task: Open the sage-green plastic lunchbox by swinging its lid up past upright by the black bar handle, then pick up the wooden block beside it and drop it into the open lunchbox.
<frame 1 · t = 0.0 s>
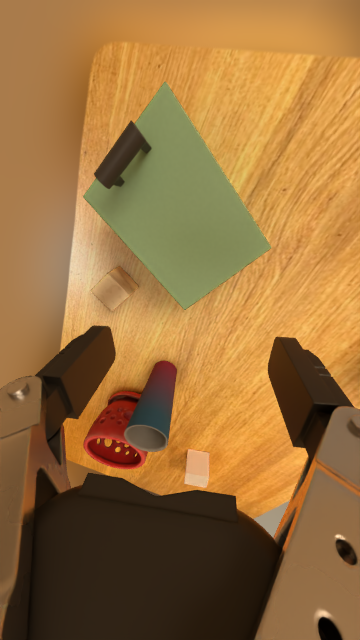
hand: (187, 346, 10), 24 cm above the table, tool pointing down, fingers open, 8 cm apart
flower pot: (133, 403, 50), on the table
cup: (165, 369, 43), on the table
beige cube: (197, 455, 58), on the table
wooden block: (121, 283, 35), on the table
lunchbox lid: (174, 223, 20), point 9 cm above the table, hinge at 0.0°
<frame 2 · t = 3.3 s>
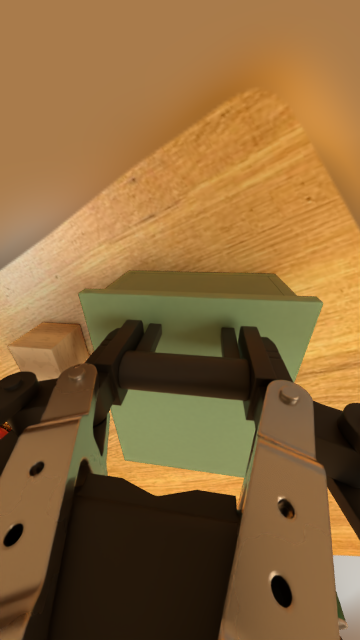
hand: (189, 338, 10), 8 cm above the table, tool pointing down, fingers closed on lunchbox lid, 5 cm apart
lunchbox: (196, 349, 21), on the table
wooden block: (66, 339, 23), on the table
lunchbox lid: (187, 431, 13), point 9 cm above the table, hinge at 0.0°, touching gripper
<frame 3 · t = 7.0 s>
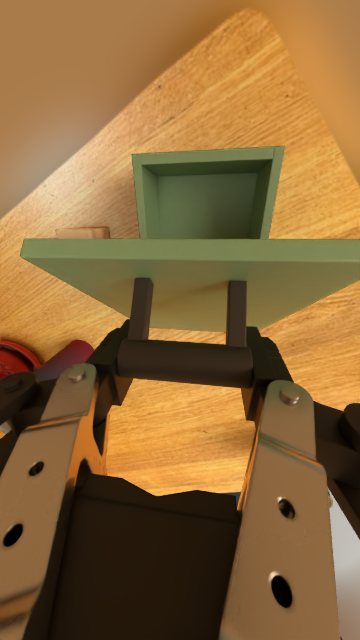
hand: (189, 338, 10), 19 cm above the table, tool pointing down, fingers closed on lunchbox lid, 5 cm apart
lunchbox: (203, 245, 26), on the table
flower pot: (20, 360, 42), on the table
cup: (82, 350, 38), on the table
wooden block: (96, 244, 28), on the table
lunchbox lid: (193, 337, 15), point 15 cm above the table, hinge at 51.5°, touching gripper
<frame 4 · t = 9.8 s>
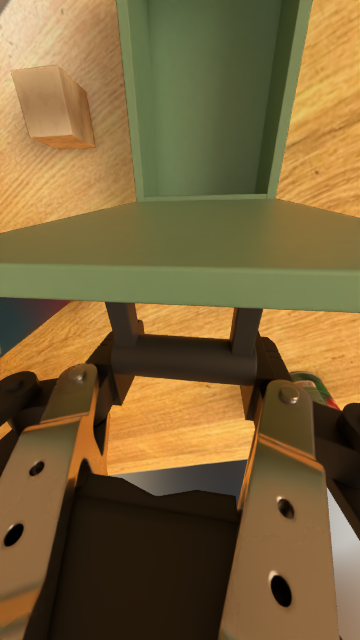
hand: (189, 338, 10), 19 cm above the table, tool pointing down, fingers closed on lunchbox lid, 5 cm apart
lunchbox: (208, 111, 20), on the table
canned tomato: (297, 386, 36), on the table
cup: (65, 284, 32), on the table
wooden block: (72, 122, 22), on the table
lunchbox lid: (195, 258, 12), point 16 cm above the table, hinge at 95.1°, touching gripper
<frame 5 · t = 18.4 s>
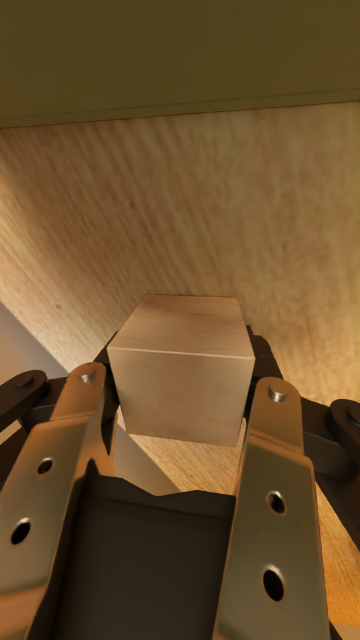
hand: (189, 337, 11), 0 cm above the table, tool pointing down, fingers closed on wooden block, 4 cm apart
wooden block: (190, 333, 11), on the table, touching gripper
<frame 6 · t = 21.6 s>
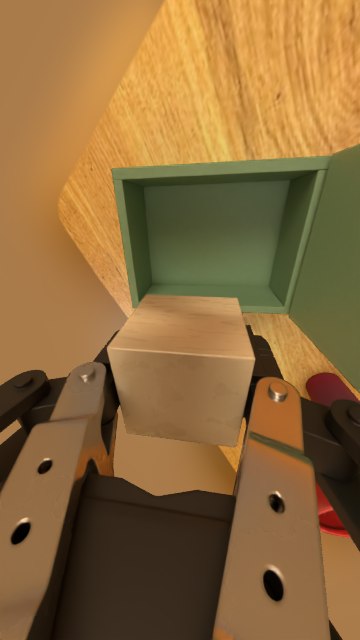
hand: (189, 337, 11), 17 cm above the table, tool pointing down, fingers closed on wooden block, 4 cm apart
lunchbox: (210, 239, 24), on the table
flower pot: (319, 440, 39), on the table
cup: (322, 383, 32), on the table
wooden block: (190, 334, 11), point 17 cm above the table, touching gripper
when the fingers open (7 cm above the table, at t = 24.8 s): wooden block drops 6 cm, resting on lunchbox.
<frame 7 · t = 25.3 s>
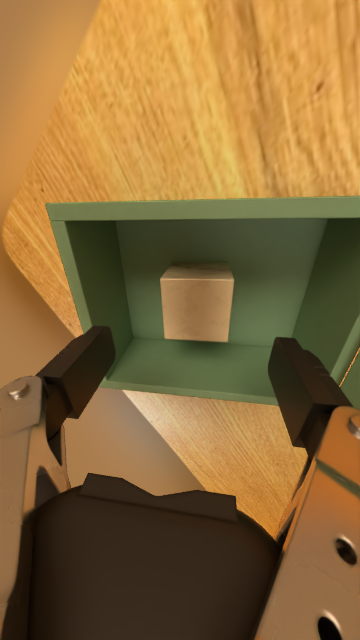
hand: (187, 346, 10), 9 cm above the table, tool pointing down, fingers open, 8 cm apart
lunchbox: (210, 285, 18), on the table
wooden block: (199, 288, 17), point 1 cm above the table, touching lunchbox
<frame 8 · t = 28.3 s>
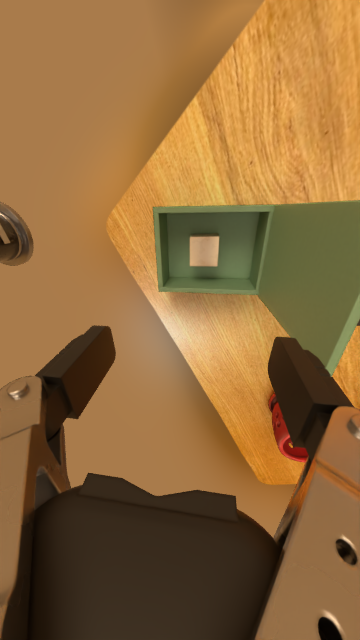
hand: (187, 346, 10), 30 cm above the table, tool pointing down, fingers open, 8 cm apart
lunchbox: (209, 246, 36), on the table
flower pot: (291, 398, 51), on the table
wooden block: (204, 247, 35), point 1 cm above the table, touching lunchbox
lunchbox lid: (317, 272, 21), point 16 cm above the table, hinge at 95.5°
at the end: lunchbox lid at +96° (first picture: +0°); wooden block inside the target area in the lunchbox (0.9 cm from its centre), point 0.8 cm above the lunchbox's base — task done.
